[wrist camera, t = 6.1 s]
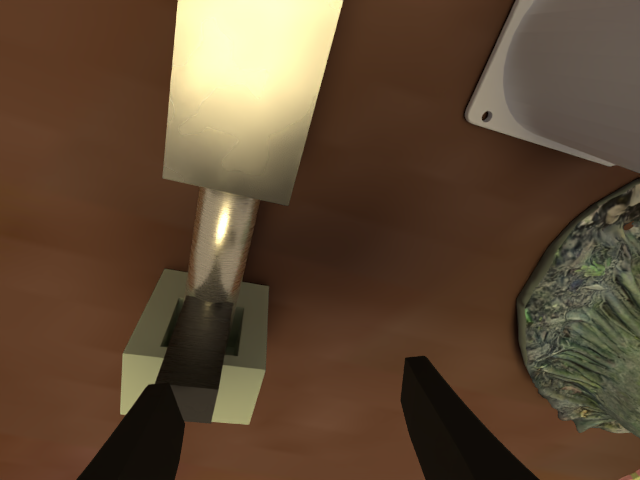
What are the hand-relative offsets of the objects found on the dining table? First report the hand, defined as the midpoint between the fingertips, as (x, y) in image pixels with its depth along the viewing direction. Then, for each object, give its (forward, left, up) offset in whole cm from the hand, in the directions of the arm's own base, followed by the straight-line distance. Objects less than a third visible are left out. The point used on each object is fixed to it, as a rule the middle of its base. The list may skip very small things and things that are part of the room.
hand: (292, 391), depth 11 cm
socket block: (+3, +6, -10) cm, 12 cm away
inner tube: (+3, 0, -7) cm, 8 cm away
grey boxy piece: (+3, -8, -10) cm, 14 cm away
